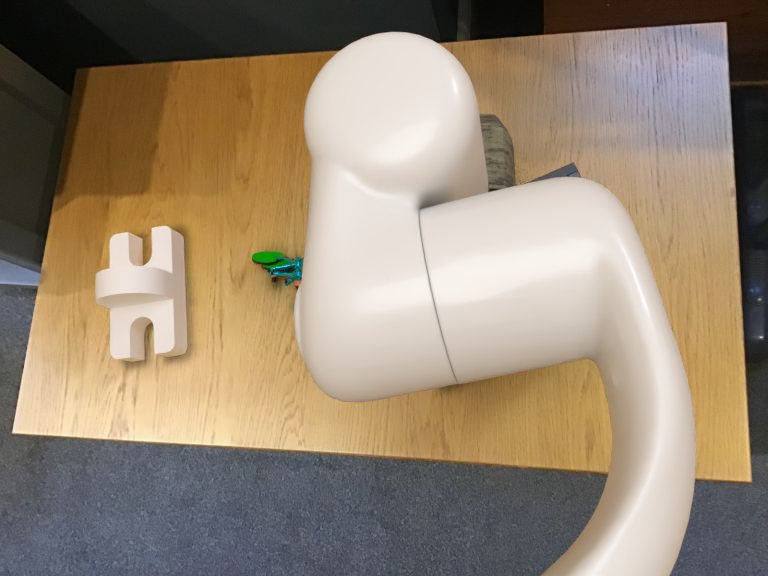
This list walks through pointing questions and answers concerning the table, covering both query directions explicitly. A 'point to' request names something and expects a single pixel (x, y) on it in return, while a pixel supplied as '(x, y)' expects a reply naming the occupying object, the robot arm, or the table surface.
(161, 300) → the white slotted bracket
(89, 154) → the table surface
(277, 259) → the stick construction toy
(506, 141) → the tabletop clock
